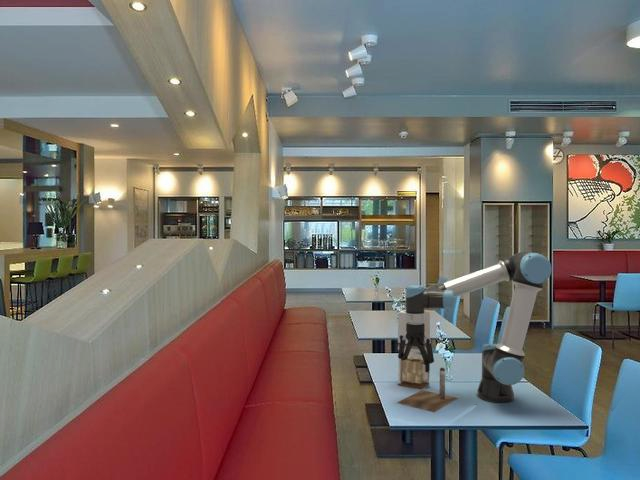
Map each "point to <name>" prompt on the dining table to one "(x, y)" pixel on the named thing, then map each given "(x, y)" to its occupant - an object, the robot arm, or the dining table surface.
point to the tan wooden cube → (413, 370)
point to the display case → (414, 350)
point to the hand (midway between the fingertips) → (415, 377)
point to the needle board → (430, 397)
